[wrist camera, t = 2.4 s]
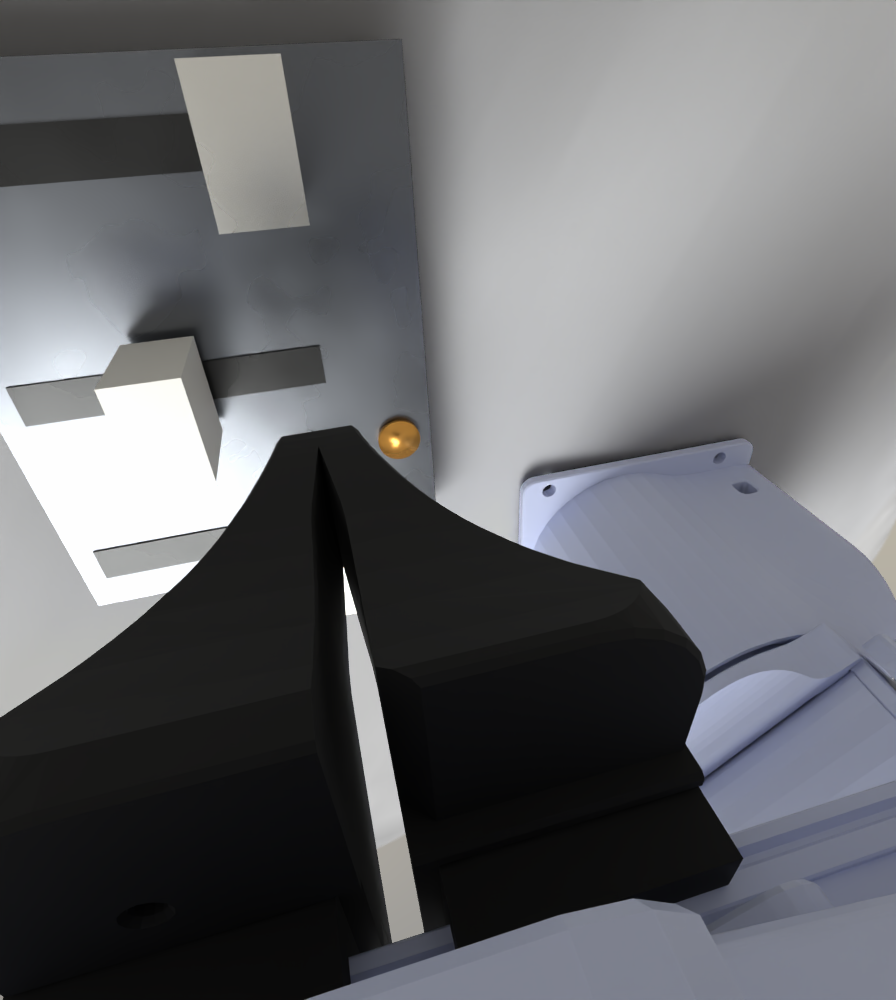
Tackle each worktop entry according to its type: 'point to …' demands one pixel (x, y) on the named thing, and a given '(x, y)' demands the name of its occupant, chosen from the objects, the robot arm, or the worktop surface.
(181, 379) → the white slider knob
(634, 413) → the worktop surface
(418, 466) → the panel
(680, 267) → the worktop surface
